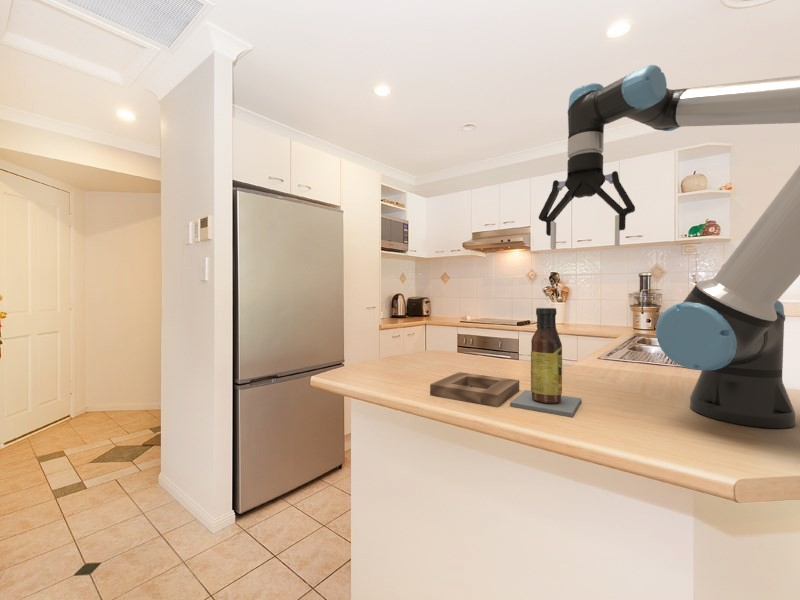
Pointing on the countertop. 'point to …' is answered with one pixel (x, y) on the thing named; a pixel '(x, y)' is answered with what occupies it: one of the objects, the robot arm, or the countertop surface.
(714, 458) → the countertop surface
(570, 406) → the mat
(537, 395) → the sauce bottle
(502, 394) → the caddy
